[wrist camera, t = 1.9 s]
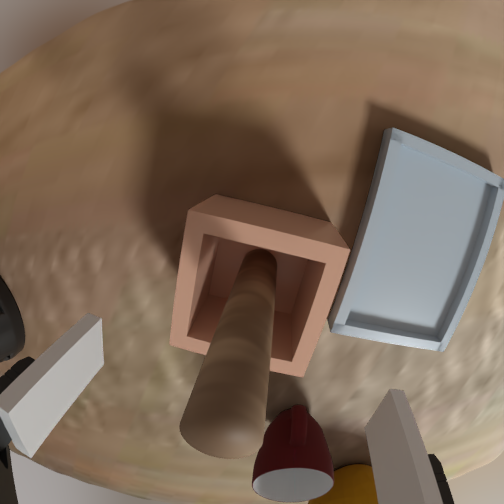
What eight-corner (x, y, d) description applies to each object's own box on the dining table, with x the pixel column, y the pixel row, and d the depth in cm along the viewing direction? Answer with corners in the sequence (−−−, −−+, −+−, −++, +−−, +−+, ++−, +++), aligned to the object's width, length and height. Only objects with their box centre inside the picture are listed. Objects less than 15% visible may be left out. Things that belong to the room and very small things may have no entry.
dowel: (238, 277, 27) (177, 446, 10) (246, 245, 26) (182, 398, 9) (272, 285, 27) (252, 464, 10) (281, 253, 26) (273, 420, 9)
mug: (253, 381, 31) (242, 453, 22) (328, 376, 30) (339, 448, 21) (263, 439, 34) (256, 503, 25) (326, 435, 33) (332, 499, 24)
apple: (338, 498, 39) (341, 550, 28) (288, 477, 37) (285, 539, 26) (402, 466, 35) (416, 522, 24) (360, 441, 33) (372, 510, 23)
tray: (436, 340, 28) (443, 351, 26) (327, 320, 28) (330, 332, 26) (494, 178, 23) (507, 181, 20) (384, 129, 23) (392, 127, 21)
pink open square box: (196, 298, 29) (169, 344, 21) (215, 194, 26) (188, 209, 18) (299, 323, 29) (302, 377, 21) (331, 222, 26) (350, 249, 18)
